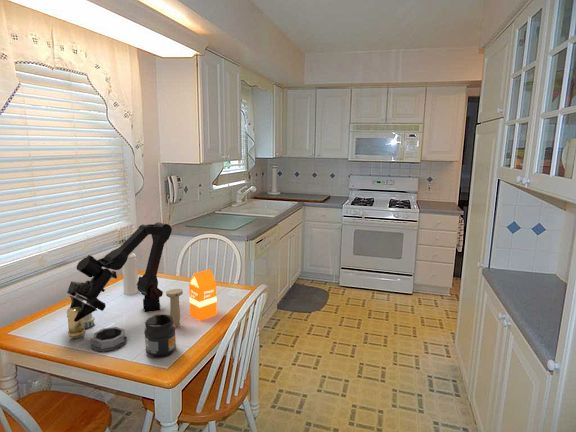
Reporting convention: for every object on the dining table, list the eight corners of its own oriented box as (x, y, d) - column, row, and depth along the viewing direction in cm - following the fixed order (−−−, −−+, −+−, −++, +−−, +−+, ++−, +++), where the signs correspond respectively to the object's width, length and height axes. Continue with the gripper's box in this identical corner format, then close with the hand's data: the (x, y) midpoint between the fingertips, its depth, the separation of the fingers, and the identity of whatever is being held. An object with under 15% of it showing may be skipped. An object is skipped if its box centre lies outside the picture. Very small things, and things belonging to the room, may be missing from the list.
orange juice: (217, 314, 165) (216, 271, 161) (199, 321, 159) (198, 276, 155) (206, 309, 170) (205, 266, 167) (189, 315, 164) (188, 271, 160)
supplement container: (181, 345, 139) (180, 315, 137) (166, 361, 129) (165, 328, 127) (156, 341, 142) (154, 312, 139) (139, 356, 131) (137, 324, 129)
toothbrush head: (89, 296, 172) (94, 309, 151) (90, 310, 173) (95, 326, 152) (76, 298, 170) (79, 312, 148) (77, 313, 170) (80, 329, 149)
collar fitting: (127, 333, 147) (127, 324, 146) (125, 349, 136) (125, 339, 135) (93, 338, 143) (93, 328, 142) (88, 354, 132) (88, 344, 131)
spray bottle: (123, 290, 189) (120, 242, 184) (138, 288, 192) (135, 241, 187) (124, 295, 183) (121, 246, 179) (138, 293, 186) (136, 244, 181)
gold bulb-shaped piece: (86, 329, 146) (84, 305, 144) (83, 336, 141) (81, 311, 139) (70, 331, 144) (67, 307, 143) (66, 338, 139) (64, 313, 137)
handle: (185, 326, 154) (184, 291, 151) (170, 330, 150) (168, 295, 147) (181, 321, 158) (179, 287, 155) (165, 325, 154) (164, 291, 151)
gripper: (70, 267, 147) (41, 303, 140) (94, 278, 136) (65, 317, 129) (91, 281, 155) (66, 315, 148) (117, 292, 144) (90, 329, 137)
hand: (71, 319), depth 140 cm, fingers closed on gold bulb-shaped piece, 5 cm apart
